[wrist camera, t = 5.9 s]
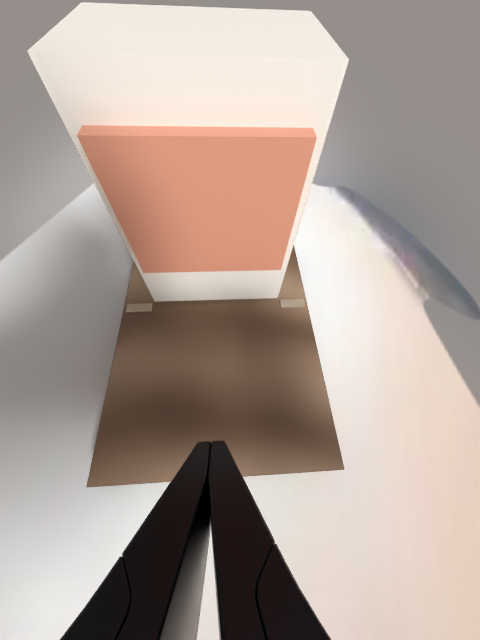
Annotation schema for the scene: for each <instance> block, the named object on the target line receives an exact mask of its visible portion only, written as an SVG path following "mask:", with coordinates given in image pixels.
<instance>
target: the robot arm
mask: <svg viewBox="0 0 480 640" xmlns="http://www.w3.org/2000/svg"><path fill="white" fill-rule="evenodd" d="M210 528H211V530H212V544H213V558H214V571H215V585H216V598H217V611H218V625H219V638H220V640H331V639H330V637H329V635H328V634H327V632H326V631H325V629H324V627H323V626H322V624H321V623H320V621H319V620H318V618H317V616H316V615H315V613H314V611H313V610H312V608H311V606H310V605H309V603H308V601H307V600H306V598H305V596H304V595H303V593H302V591H301V590H300V588H299V586H298V584H297V582H296V581H295V579H294V577H293V575H292V573H291V571H290V569H289V567H288V566H287V564H286V562H285V560H284V558H283V556H282V554H281V552H280V550H279V548H278V546H277V544H275V541H274V538H273V536H272V534H271V532H270V530H269V528H268V526H267V524H266V522H265V520H264V519H263V517H262V515H261V513H260V511H259V509H258V507H257V505H256V503H255V501H254V499H253V497H252V495H251V493H250V491H249V489H248V487H247V485H246V483H245V481H244V479H243V477H242V475H241V473H240V471H239V469H238V467H237V465H236V463H235V461H234V459H233V457H232V455H231V453H230V451H229V449H228V447H227V445H226V443H225V441H223V440H221V441H212V443H211V442H210V441H204V442H198V443H197V444H196V446H195V447H194V449H193V450H192V452H191V453H190V455H189V456H188V457H187V459H186V460H185V462H184V463H183V465H182V466H181V468H180V469H179V471H178V472H177V474H176V475H175V477H174V478H173V480H172V481H171V482H170V484H169V485H168V487H167V488H166V490H165V491H164V493H163V494H162V496H161V497H160V499H159V500H158V502H157V503H156V505H155V506H154V508H153V509H152V510H151V512H150V513H149V515H148V516H147V518H146V519H145V521H144V522H143V524H142V525H141V527H140V528H139V530H138V531H137V533H136V534H135V535H134V537H133V538H132V540H131V541H130V543H129V544H128V546H127V547H126V549H125V550H124V552H123V554H122V556H123V557H119V559H118V560H117V562H116V563H115V565H114V566H113V568H112V569H111V571H110V572H109V574H108V575H107V577H106V578H105V579H104V581H103V582H102V584H101V585H100V586H99V588H98V589H97V591H96V592H95V593H94V595H93V596H92V598H91V599H90V601H89V602H88V603H87V605H86V606H85V608H84V609H83V610H82V611H81V613H80V614H79V615H78V617H77V618H76V619H75V621H74V622H73V623H72V625H71V626H70V627H69V629H68V630H67V631H66V632H65V634H64V635H63V636H62V638H61V639H60V640H196V639H197V632H198V624H199V616H200V608H201V600H202V593H203V585H204V577H205V569H206V561H207V553H208V546H209V538H210Z"/></svg>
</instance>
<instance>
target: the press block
mask: <svg viewBox="0 0 480 640" xmlns="http://www.w3.org/2000/svg"><path fill="white" fill-rule="evenodd" d="M28 53H29V55H30V57H31V59H32V61H33V63H34V65H35V67H36V69H37V71H38V73H39V75H40V77H41V79H42V81H43V83H44V85H45V87H46V89H47V91H48V93H49V95H50V96H51V99H52V101H53V102H54V104H55V106H56V108H57V110H58V112H59V114H60V116H61V118H62V120H63V122H64V124H65V126H66V128H67V130H68V132H69V134H70V136H71V138H72V140H73V141H74V144H75V146H76V147H77V150H78V152H79V154H80V156H81V158H82V159H83V162H84V164H85V166H86V168H87V169H88V171H89V173H90V175H91V177H92V179H93V181H94V183H95V185H96V187H97V189H98V191H99V193H100V195H101V197H102V199H103V201H104V203H105V205H106V207H107V209H108V211H109V213H110V215H111V217H112V219H113V221H114V223H115V225H116V227H117V229H118V230H119V232H120V234H121V236H122V238H123V240H124V242H125V244H126V246H127V248H128V250H129V252H130V254H131V256H132V258H133V260H134V262H135V264H136V266H137V268H138V270H139V272H140V274H141V276H142V278H143V280H144V282H145V284H146V286H147V288H148V289H149V291H150V293H151V295H152V297H153V299H154V301H155V302H158V301H193V300H229V299H264V298H278V295H279V292H280V288H281V285H282V282H283V278H284V275H285V272H286V268H287V265H288V262H289V258H290V255H291V252H292V248H293V245H294V242H295V238H296V235H297V231H298V228H299V225H300V221H301V218H302V215H303V211H304V208H305V205H306V201H307V198H308V195H309V191H310V188H311V185H312V181H313V178H314V175H315V171H316V168H317V165H318V161H319V158H320V154H321V151H322V148H323V145H324V141H325V138H326V134H327V131H328V127H329V125H330V121H331V117H332V114H333V111H334V107H335V104H336V101H337V97H338V94H339V91H340V88H341V84H342V81H343V78H344V74H345V71H346V67H347V64H348V61H349V59H348V58H347V56H346V55H345V54H344V53H343V51H342V50H341V49H340V48H339V46H338V45H337V44H336V42H335V41H334V40H333V39H332V37H331V36H330V35H329V34H328V32H327V31H326V30H325V28H324V27H323V26H322V25H321V23H320V22H319V21H318V20H317V18H315V16H314V15H313V13H312V12H311V11H294V10H293V11H292V10H291V11H290V10H267V9H265V10H264V9H241V8H240V9H238V8H213V7H187V6H161V5H134V4H108V3H81V4H79V5H78V6H77V7H76V8H75V9H74V10H73V11H72V12H71V13H69V14H68V15H67V16H66V17H65V18H64V19H63V20H62V21H60V22H59V23H58V24H57V25H56V26H55V27H54V28H53V29H51V30H50V31H49V32H48V33H47V34H46V35H45V36H44V37H42V38H41V39H40V40H39V41H38V42H37V43H36V44H34V45H33V46H32V47H31V48H30V49H29V50H28Z"/></svg>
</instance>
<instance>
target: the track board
mask: <svg viewBox="0 0 480 640" xmlns="http://www.w3.org/2000/svg"><path fill="white" fill-rule="evenodd" d="M221 440H223V441H225V443H226V445H227V447H228V449H229V451H230V453H231V455H232V457H233V459H234V461H235V463H236V465H237V467H238V469H239V471H240V473H241V475H242V477H244V476H259V475H273V474H288V473H302V472H317V471H331V470H344V466H343V461H342V457H341V452H340V448H339V443H338V439H337V435H336V430H335V426H334V421H333V417H332V412H331V408H330V404H329V399H328V395H327V390H326V386H325V381H324V377H323V373H322V368H321V364H320V359H319V355H318V350H317V346H316V342H315V337H314V333H313V328H312V324H311V320H310V315H309V311H308V306H307V302H306V297H305V293H304V289H303V284H302V280H301V275H300V271H299V266H298V262H297V258H296V253H295V249H294V245H293V248H292V252H291V255H290V258H289V262H288V265H287V268H286V272H285V275H284V278H283V282H282V285H281V288H280V292H279V295H278V298H264V299H229V300H193V301H158V302H155V301H154V299H153V297H152V295H151V293H150V291H149V289H148V288H147V286H146V284H145V282H144V280H143V278H142V276H141V274H140V272H139V270H138V268H137V266H136V264H135V262H134V263H133V268H132V273H131V277H130V282H129V287H128V292H127V296H126V301H125V306H124V311H123V315H122V320H121V325H120V330H119V334H118V339H117V344H116V349H115V354H114V358H113V363H112V368H111V373H110V377H109V382H108V387H107V392H106V396H105V401H104V406H103V411H102V416H101V420H100V425H99V430H98V435H97V439H96V444H95V449H94V454H93V458H92V463H91V468H90V473H89V477H88V482H87V487H99V486H114V485H128V484H143V483H157V482H171V481H172V480H173V478H174V477H175V475H176V474H177V472H178V471H179V469H180V468H181V466H182V465H183V463H184V462H185V460H186V459H187V457H188V456H189V455H190V453H191V452H192V450H193V449H194V447H195V446H196V444H197V443H198V442H204V441H210V442H211V443H212V441H221Z"/></svg>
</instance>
